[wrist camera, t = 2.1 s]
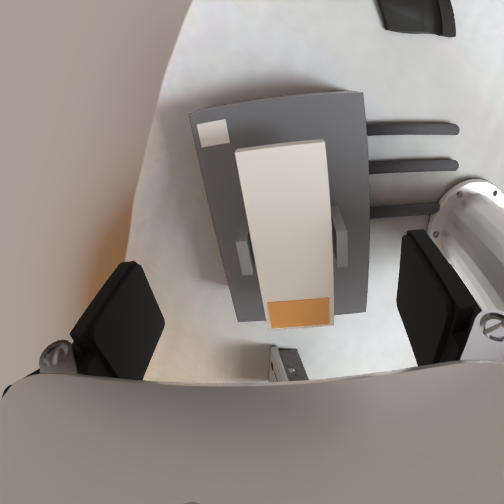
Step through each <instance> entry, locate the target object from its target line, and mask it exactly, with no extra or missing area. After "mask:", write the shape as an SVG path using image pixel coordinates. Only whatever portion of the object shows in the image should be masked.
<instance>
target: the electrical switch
mask: <svg viewBox="0 0 504 504" xmlns="http://www.w3.org/2000/svg"><path fill="white" fill-rule="evenodd" d="M293 368H294V369H295V371H293ZM303 380H309V379H308V377H307V374H306V372H305V369H304V366H303V364H302V361H301V359H300V356H299V354H298V351H297V349H292V350H282V351H279V350H278V347H277V346H274V347H271V354H270V369H269V382H287V381H303Z"/></svg>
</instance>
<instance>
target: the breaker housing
mask: <svg viewBox="0 0 504 504" xmlns="http://www.w3.org/2000/svg"><path fill="white" fill-rule="evenodd" d="M189 117H190V122H191V127H192V131H193V136H194V141H195V145H196V150H197V154H198V159H199V163H200V168H201V172H202V177H203V181H204V185H205V190H206V194H207V198H208V203H209V207H210V211H211V216H212V220H213V224H214V228H215V232H216V236H217V241H218V245H219V249H220V253H221V257H222V261H223V265H224V269H225V273H226V277H227V281H228V285H229V289H230V293H231V297H232V301H233V304H234V308H235V312H236V316H237V320H238V322H246V321H265V320H266V317H265V311H264V306H263V301H262V295H261V290H260V285H259V279H258V274H257V269H256V263H255V258H254V253H253V247H252V242H251V237H250V231H249V226H248V221H247V215H246V210H245V205H244V199H243V194H242V189H241V183H240V178H239V173H238V167H237V162H236V157H235V152H236V150H237V149H241V148H247V147H255V146H262V145H270V144H278V143H287V142H296V141H306V140H317V139H323V140H324V141H325V148H326V158H327V169H328V180H329V193H330V208H331V224H332V245H333V276H334V315H341V314H351V313H360V312H366V304H367V289H368V271H369V242H370V191H369V162H368V144H367V130H366V118H365V107H364V98H363V92H356V91H330V92H316V93H305V94H294V95H285V96H277V97H269V98H262V99H255V100H248V101H242V102H236V103H230V104H225V105H219V106H214V107H209V108H205V109H202V110H199V111H196V112H194V113H191V114H189Z"/></svg>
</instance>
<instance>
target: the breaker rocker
mask: <svg viewBox="0 0 504 504" xmlns="http://www.w3.org/2000/svg"><path fill="white" fill-rule="evenodd" d="M235 157H236V162H237V167H238V173H239V178H240V183H241V189H242V194H243V199H244V205H245V210H246V215H247V221H248V226H249V231H250V237H251V242H252V247H253V253H254V258H255V263H256V269H257V274H258V279H259V285H260V290H261V295H262V301H263V306H264V311H265V317H266V322H267V327H268V330H278V329H293V328H307V327H319V326H330V325H334V276H333V245H332V224H331V208H330V193H329V180H328V169H327V158H326V148H325V141H324V140H323V139H317V140H306V141H296V142H287V143H278V144H270V145H262V146H255V147H247V148H241V149H237V150H236V152H235Z"/></svg>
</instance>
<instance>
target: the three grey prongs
mask: <svg viewBox="0 0 504 504" xmlns="http://www.w3.org/2000/svg"><path fill="white" fill-rule="evenodd" d="M366 130H367V136H372V135H457V134H458V133H459V127H458V126H457V125H456V124H441V123H375V124H366ZM458 167H459V164H458V162H457V161H456V160H410V161H385V162H369V174H379V173H398V172H422V171H456V170H457V169H458ZM439 210H440V203H426V204H411V205H396V206H382V207H370V219H373V218H385V217H397V216H410V215H424V214H435V213H437V212H438V211H439Z"/></svg>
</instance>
